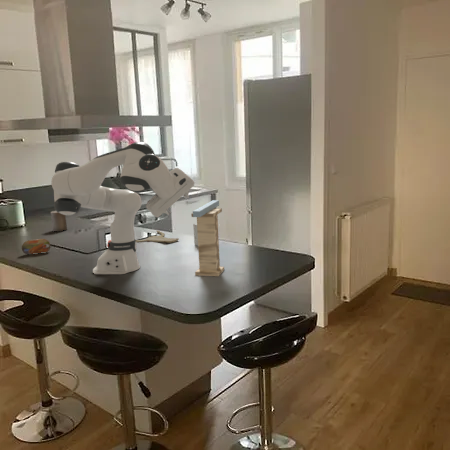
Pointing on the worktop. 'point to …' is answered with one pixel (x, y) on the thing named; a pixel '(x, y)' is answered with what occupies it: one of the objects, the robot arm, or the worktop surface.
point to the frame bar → (205, 208)
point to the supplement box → (195, 234)
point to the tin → (36, 246)
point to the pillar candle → (58, 221)
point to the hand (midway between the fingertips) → (177, 205)
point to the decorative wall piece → (159, 239)
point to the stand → (208, 244)
